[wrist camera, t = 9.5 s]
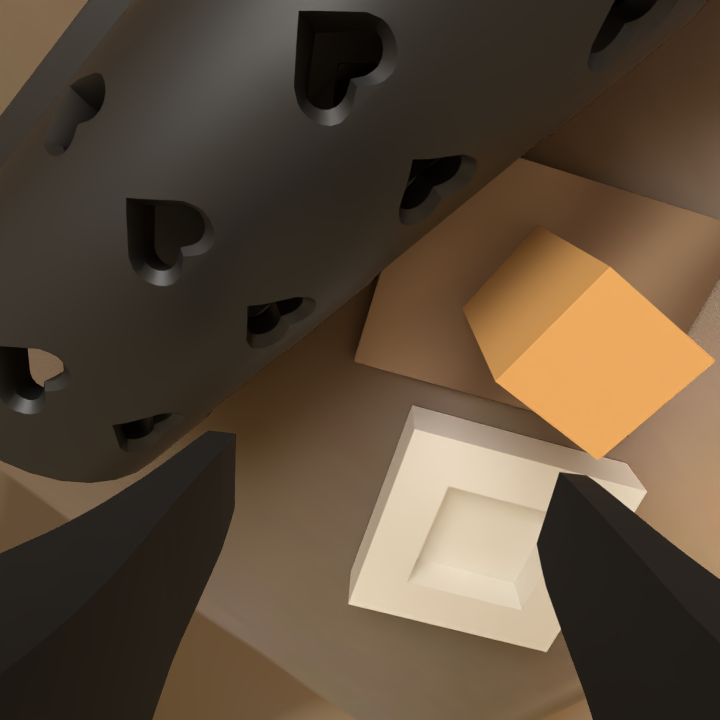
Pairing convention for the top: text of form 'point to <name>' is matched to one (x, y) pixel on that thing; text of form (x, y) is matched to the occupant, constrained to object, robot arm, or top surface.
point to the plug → (579, 342)
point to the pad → (498, 241)
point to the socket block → (470, 528)
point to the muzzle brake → (251, 187)
